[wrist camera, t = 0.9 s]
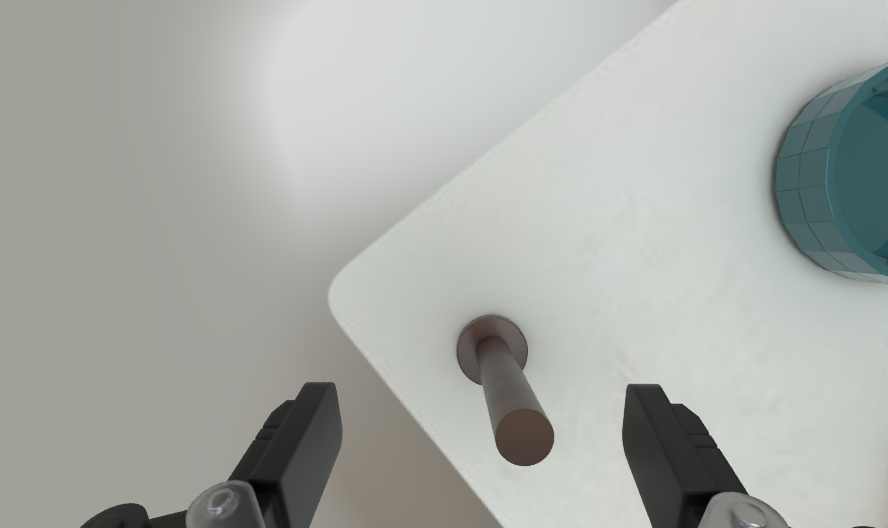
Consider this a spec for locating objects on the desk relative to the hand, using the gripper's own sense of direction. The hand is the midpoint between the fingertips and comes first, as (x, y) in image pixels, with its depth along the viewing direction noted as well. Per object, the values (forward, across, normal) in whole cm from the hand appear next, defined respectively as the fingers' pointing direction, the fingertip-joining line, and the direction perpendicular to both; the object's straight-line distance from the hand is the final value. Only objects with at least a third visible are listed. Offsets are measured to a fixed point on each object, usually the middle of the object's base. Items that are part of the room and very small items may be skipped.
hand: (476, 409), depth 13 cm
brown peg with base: (+19, 0, +10) cm, 21 cm away
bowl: (+25, -27, -1) cm, 37 cm away
